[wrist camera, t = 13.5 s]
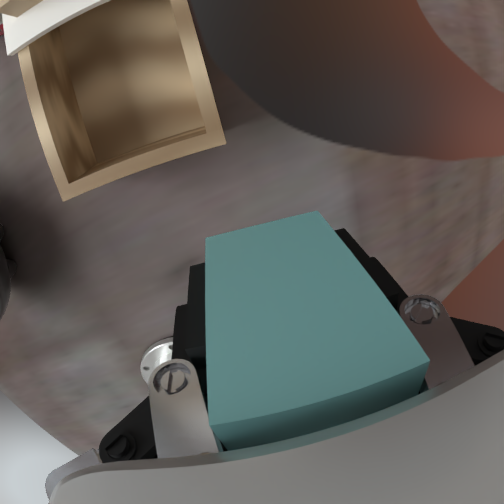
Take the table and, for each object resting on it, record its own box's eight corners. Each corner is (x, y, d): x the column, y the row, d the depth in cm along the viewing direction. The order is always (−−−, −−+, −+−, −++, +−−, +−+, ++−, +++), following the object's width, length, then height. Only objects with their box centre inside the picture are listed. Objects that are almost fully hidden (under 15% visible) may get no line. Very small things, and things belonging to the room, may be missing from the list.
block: (326, 297, 13) (396, 443, 6) (233, 321, 13) (256, 483, 6) (317, 210, 11) (430, 360, 5) (205, 237, 11) (209, 425, 4)
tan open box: (222, 132, 24) (226, 143, 18) (95, 175, 24) (63, 201, 18) (173, -45, 15) (164, -82, 9) (49, 8, 15) (10, -8, 9)
